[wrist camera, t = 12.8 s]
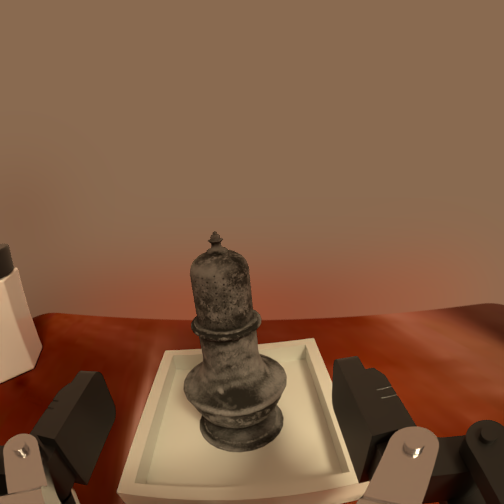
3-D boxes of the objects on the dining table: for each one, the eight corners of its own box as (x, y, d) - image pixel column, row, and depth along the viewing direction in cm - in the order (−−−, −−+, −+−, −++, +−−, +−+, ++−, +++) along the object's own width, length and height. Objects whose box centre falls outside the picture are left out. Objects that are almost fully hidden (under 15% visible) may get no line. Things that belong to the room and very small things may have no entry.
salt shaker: (242, 382, 22) (222, 217, 19) (307, 415, 18) (304, 223, 15) (177, 422, 18) (131, 240, 15) (239, 472, 14) (201, 256, 11)
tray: (313, 358, 25) (313, 338, 24) (363, 498, 11) (370, 479, 11) (170, 369, 25) (165, 350, 24) (130, 510, 11) (116, 492, 11)
